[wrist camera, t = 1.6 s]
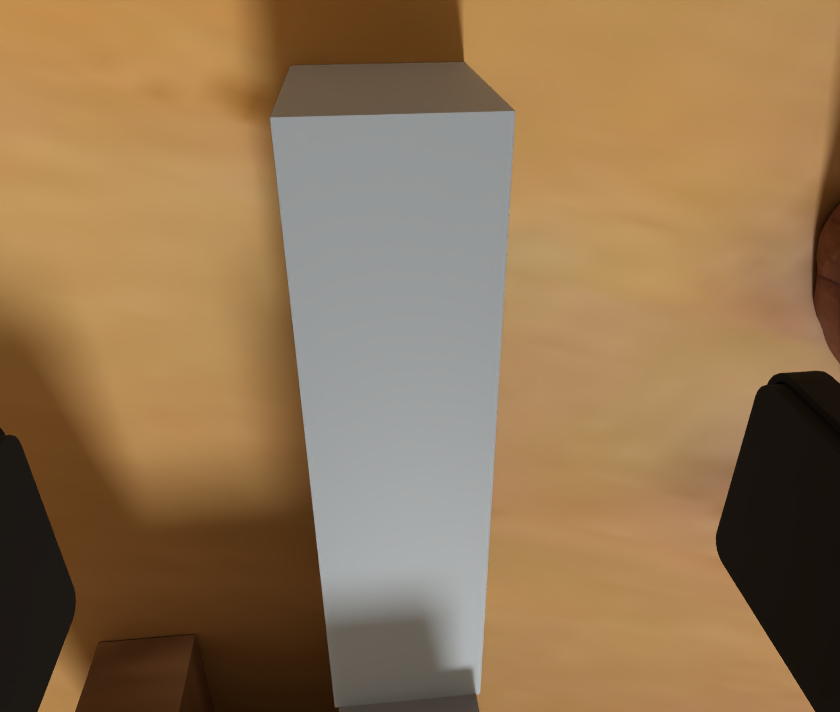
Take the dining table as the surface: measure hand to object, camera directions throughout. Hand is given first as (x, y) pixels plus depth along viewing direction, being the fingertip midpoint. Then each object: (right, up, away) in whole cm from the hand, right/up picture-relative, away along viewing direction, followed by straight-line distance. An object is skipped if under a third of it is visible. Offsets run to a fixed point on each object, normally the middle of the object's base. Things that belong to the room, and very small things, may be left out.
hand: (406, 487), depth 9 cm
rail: (-1, +2, +9) cm, 9 cm away
